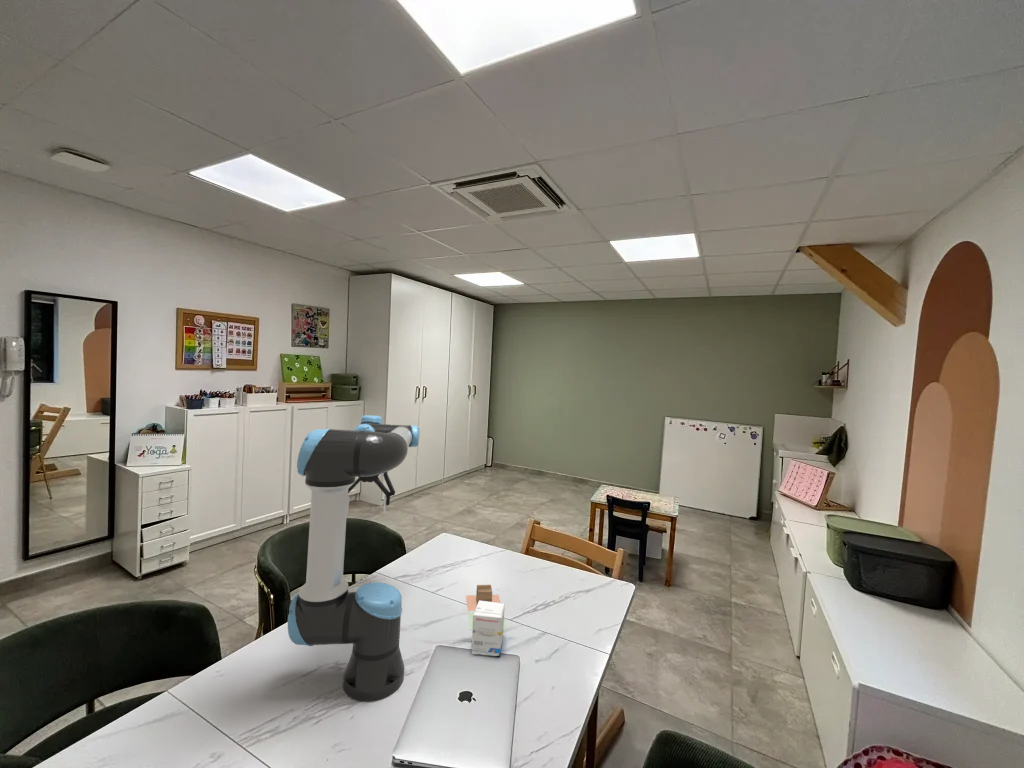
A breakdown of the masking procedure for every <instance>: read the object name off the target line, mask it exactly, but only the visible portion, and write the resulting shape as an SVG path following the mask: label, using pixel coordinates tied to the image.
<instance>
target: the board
mask: <svg viewBox="0 0 1024 768" xmlns="http://www.w3.org/2000/svg"><path fill="white" fill-rule="evenodd" d="M465 599H466V607H467V609H466V610H467V617H468V619H467V620H468V626H469V631H473V614H474V611H475V609H476V606H477V602H476V594H475V595H474V594H473V595H471V594H470V595H465ZM492 602H496V603H501V599H500V596H499V594H492ZM507 629H508V627H507V622H506V619H505V617H504V627H503V630H507Z"/></svg>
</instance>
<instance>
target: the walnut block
mask: <svg viewBox="0 0 1024 768" xmlns="http://www.w3.org/2000/svg"><path fill="white" fill-rule="evenodd" d="M492 589H493V588H492V585H491V584H476V594H475V595H476V602H477V604H478V601H479V600H480V601H488V602H492V595H493V590H492Z"/></svg>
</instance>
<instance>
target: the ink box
mask: <svg viewBox="0 0 1024 768" xmlns="http://www.w3.org/2000/svg"><path fill="white" fill-rule="evenodd" d="M505 605H506V604H505V603H502V602H500V603H496V602H488V601H480V600H479V601H478V604H477V606H476V609H475V611H473V612H474V614H473V630H472V632H471V633H472V637H471V639H472V640H471V642H472V643H471V651H472V650H478V651H487V652H494V653H499V654H500V653H502V648H503V640H504V629H503V627H504V618H505V610H506V609H505ZM500 655H501V654H500Z"/></svg>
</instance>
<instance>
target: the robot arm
mask: <svg viewBox="0 0 1024 768" xmlns="http://www.w3.org/2000/svg"><path fill="white" fill-rule="evenodd" d="M419 442H420V427H419V426H418V425H411V424H409V425H407V424H406V425H404V424H403V425H402V424H386V423H385V424H384V423H383V417H382V416H380V415H372V414H371V415H370V414H368V415H362V417H361V420H360V424H359V425H357V426H356V427H355V428H354V429H353V430H351V429H349V430H348V429H335V428H334V429H333V428H328V429H327V428H326V429H325V428H323V429H322V428H321V429H314V430H311V431H310V432H309V433H308V434H307V435H306V436H305V438H304V440H303V442H302V444H301V446H300V449H299V453H298V456H297V461H296V469H297V474H298V475H301V476H302V477H305V481H304V482H305V486H306V487H308V489H310V491H311V493H310V495H311V497H310V510H309V511H310V515H309V527H308V530H309V531H308V543H307V545H308V546H307V560H306V561H307V562H306V577H305V579H306V580H305V583H304V584H303V585H302V586H301V587H300V588H299V590H298V593H296V594H295V595H294V597H293V598H292V599H291V603H290V604H289V607H288V608H289V609H288V611H289V613H288V614H287V632H288V637H289V639H290V640H291V642H292V643H294V644H295V645H298V646H307V647H312V646H313V647H314V646H321V645H322V646H323V645H324V646H325V645H347V644H351V645H352V649H351V650H352V651H351V654H350V657H349V659H348V662H347V664H346V668H345V669H344V673H343V679H342V688H343V691H344V693H345V694H346V696H347V697H349V698H350V699H353V700H356V701H358V702H374V701H378V700H382V699H385V698H386V697H389V696H391V695H392V694H393V693H394V692H396V691H397V690H398V689H400V687H401V686H402V684H403V682H404V679H405V664H404V663H405V662H404V660H403V656H402V652H401V649H400V648H401V647H400V638H401V637H400V636H401V635H400V633H401V616H402V614H403V607H402V606H403V605H402V601H403V600H402V595H401V592H400V591H399V589H397V587H395V586H394V585H392V584H389V583H385V582H377V581H375V582H373V581H372V582H368V583H365V584H362V585H360V586H359V587H358V588H357V590H356V591H349V583H348V581H347V580H345V579H344V564H345V563H344V561H345V547H346V531H347V517H348V513H349V509H350V494H349V493H350V492H351V491H352V490H353V489H354V488H355V487H357V485H358V484H359V483H360V482H363V483H372V482H374V484H375V485H377V487H379V489H380V490H381V492H382V493H383V494H384V496H383V510H382V515H383V516H385V515H386V514H387V506H390V504H391V496H395V494H396V490H395V488H394V485H393V484H392V483H393V482H391V478H390V477H389V471H391V470H394V469H396V468H397V467H398V466H400V465H401V464H402V463H403V462H404V461H405V459H406V457H407V455H408V448H413V447H414V448H416V447H418V446H419ZM379 475H381V476H382V477H383V478H384V480H385V483H386V486H387V487H386V486H385V485H384V484H383V482H382V481H381V479H380V478H379ZM356 477H358V478H357V479H356Z"/></svg>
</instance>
